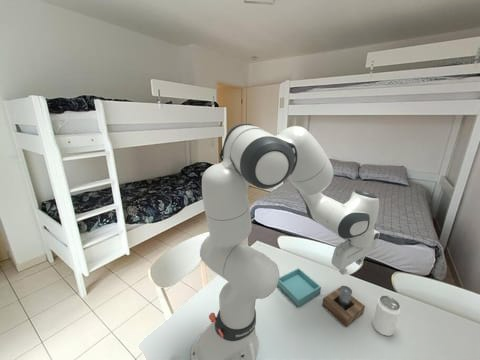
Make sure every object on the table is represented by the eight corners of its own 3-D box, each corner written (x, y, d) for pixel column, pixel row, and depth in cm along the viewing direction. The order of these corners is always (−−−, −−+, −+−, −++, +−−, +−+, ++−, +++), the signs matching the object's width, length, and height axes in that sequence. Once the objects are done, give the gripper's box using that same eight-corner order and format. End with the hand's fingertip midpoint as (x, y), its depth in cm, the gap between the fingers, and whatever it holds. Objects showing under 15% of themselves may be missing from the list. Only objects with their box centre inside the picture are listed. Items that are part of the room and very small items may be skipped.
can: (388, 340, 73) (396, 314, 69) (368, 325, 78) (375, 300, 74) (396, 329, 77) (404, 304, 73) (376, 316, 82) (383, 291, 78)
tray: (297, 307, 85) (298, 300, 84) (276, 285, 96) (277, 278, 94) (320, 294, 91) (321, 286, 90) (297, 274, 102) (298, 267, 101)
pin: (343, 316, 82) (347, 295, 79) (334, 308, 85) (338, 288, 82) (349, 311, 84) (354, 291, 80) (340, 303, 87) (344, 284, 84)
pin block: (346, 327, 77) (347, 319, 76) (322, 305, 86) (323, 297, 85) (363, 313, 83) (365, 306, 81) (338, 294, 91) (340, 287, 90)
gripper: (347, 250, 66) (340, 285, 70) (382, 231, 76) (375, 263, 80) (329, 240, 71) (324, 273, 76) (365, 223, 81) (358, 253, 85)
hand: (350, 268), depth 78 cm, fingers open, 8 cm apart
